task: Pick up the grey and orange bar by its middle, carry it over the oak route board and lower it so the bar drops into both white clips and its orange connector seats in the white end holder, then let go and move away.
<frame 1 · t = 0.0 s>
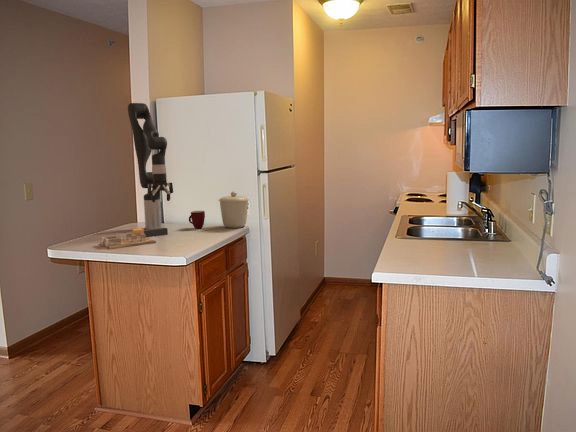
hand: (161, 201, 284), 17 cm above the table, tool pointing down, fingers open, 8 cm apart
grey and orange bar: (151, 236, 273), on the table
route board: (128, 243, 254), on the table
mug: (196, 228, 296), on the table
canister: (234, 227, 300), on the table
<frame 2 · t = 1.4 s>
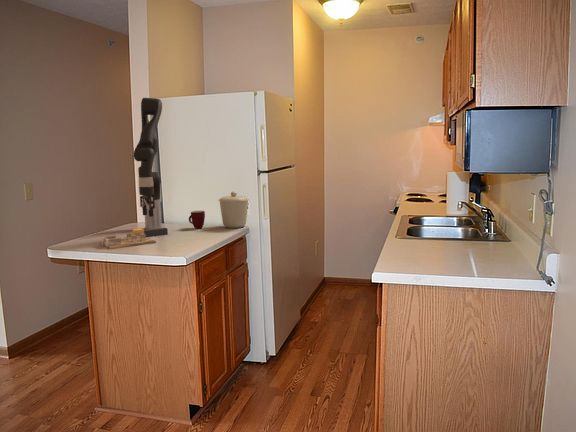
hand: (148, 215, 270), 11 cm above the table, tool pointing down, fingers open, 8 cm apart
nothing on the table moved.
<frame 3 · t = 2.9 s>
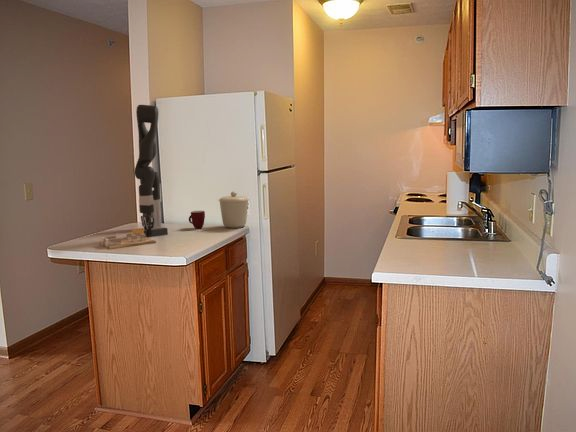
hand: (148, 235, 272), 1 cm above the table, tool pointing down, fingers closed on grey and orange bar, 3 cm apart
grey and orange bar: (151, 236, 273), on the table, touching gripper
everything else where it was.
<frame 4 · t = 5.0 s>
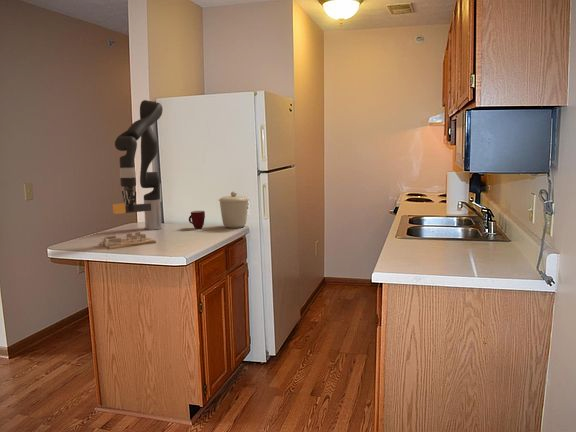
hand: (130, 210, 254), 16 cm above the table, tool pointing down, fingers closed on grey and orange bar, 3 cm apart
grey and orange bar: (134, 211, 255), point 15 cm above the table, touching gripper
everything else where it was.
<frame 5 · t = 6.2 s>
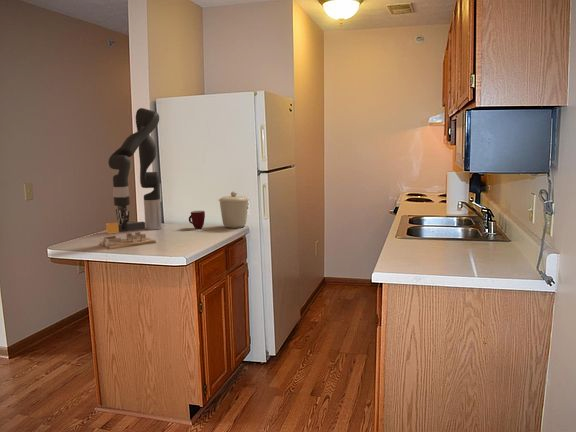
hand: (123, 229, 252), 7 cm above the table, tool pointing down, fingers closed on grey and orange bar, 3 cm apart
grey and orange bar: (127, 230, 253), point 6 cm above the table, touching gripper
everything else where it was.
when the fingers open (4 cm above the table, at t = 7.1 s): grey and orange bar drops 2 cm, resting on route board.
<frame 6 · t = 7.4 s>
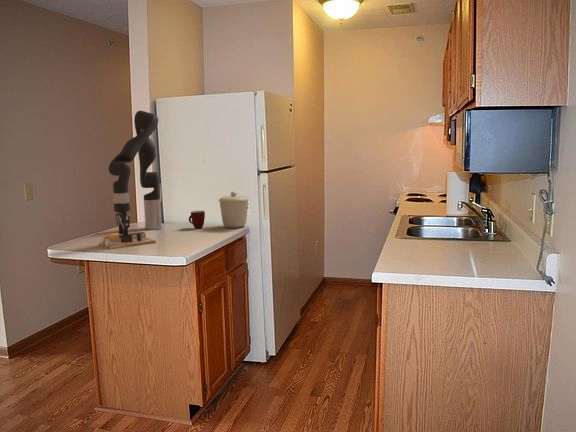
hand: (123, 235, 252), 5 cm above the table, tool pointing down, fingers open, 6 cm apart
grey and orange bar: (128, 241, 254), point 1 cm above the table, touching route board
everything else where it was.
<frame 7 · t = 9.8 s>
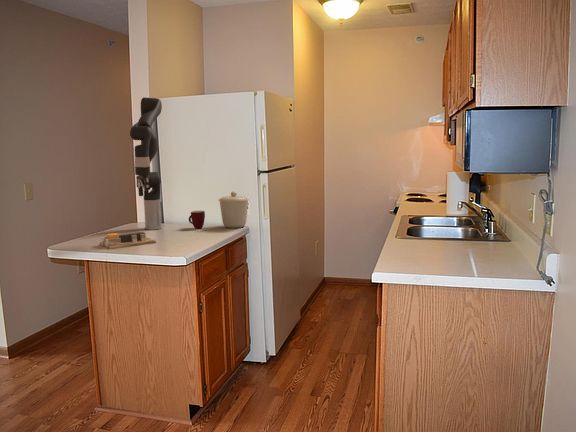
hand: (143, 197, 261), 22 cm above the table, tool pointing down, fingers open, 8 cm apart
nothing on the table moved.
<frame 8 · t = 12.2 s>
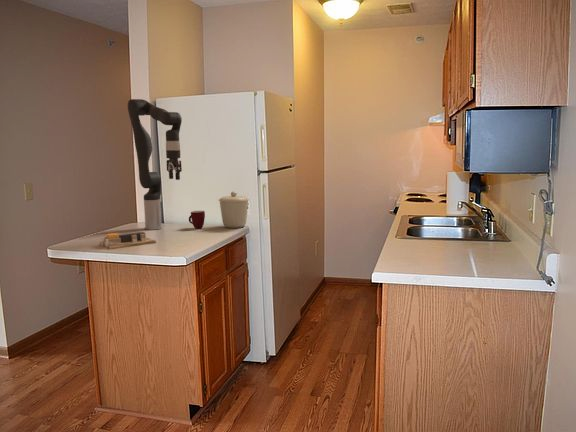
hand: (174, 179, 276), 30 cm above the table, tool pointing down, fingers open, 8 cm apart
nothing on the table moved.
at the end: grey and orange bar 0.1 cm from the target spot, point 1.0 cm above the table; grey and orange bar touching route board; the gripper is holding nothing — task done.
